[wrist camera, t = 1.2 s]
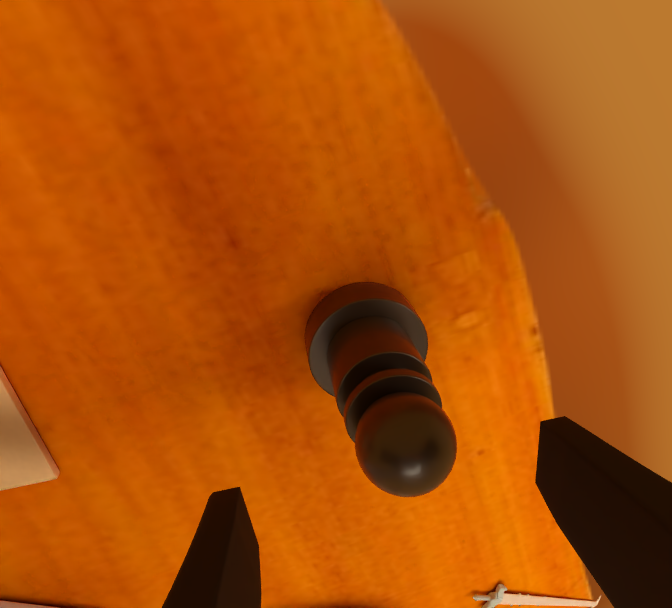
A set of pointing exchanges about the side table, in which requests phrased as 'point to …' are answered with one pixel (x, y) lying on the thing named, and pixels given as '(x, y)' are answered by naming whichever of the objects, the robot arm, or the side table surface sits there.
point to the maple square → (20, 444)
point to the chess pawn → (382, 386)
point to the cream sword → (527, 599)
